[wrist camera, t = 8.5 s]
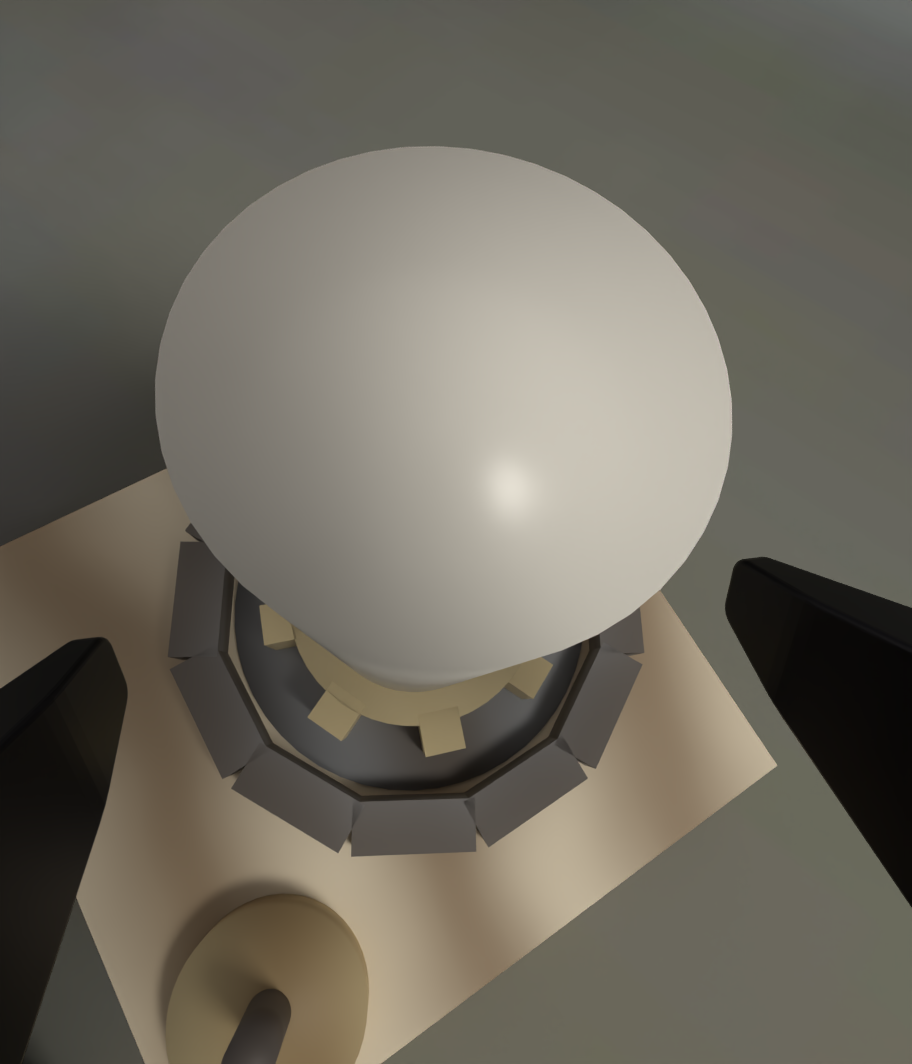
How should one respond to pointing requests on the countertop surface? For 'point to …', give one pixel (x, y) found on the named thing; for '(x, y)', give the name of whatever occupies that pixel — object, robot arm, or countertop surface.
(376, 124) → the countertop surface
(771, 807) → the countertop surface
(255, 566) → the gear spindle
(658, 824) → the gear board
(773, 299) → the countertop surface
